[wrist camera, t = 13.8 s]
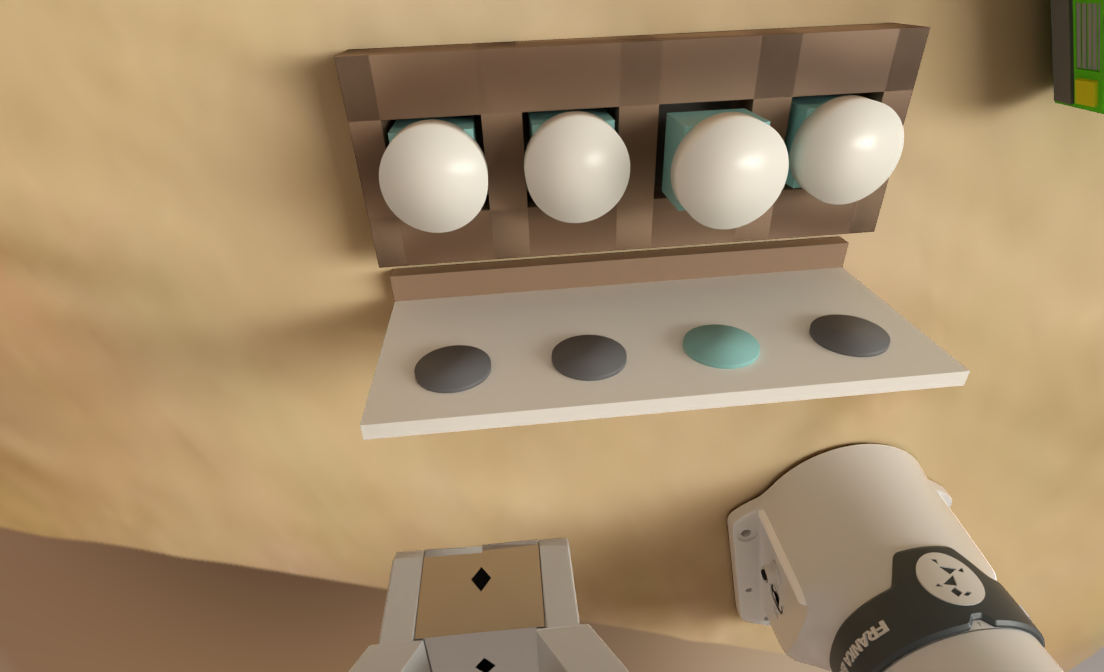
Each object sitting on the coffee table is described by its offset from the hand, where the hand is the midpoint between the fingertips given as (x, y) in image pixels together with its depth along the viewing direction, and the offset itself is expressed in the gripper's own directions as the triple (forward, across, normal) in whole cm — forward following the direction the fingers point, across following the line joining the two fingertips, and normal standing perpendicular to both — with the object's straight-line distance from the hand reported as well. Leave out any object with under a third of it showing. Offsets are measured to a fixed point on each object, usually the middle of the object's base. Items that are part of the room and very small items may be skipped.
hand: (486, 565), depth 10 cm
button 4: (+24, +2, -1) cm, 24 cm away
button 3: (+24, -4, -1) cm, 24 cm away
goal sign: (+25, -7, +7) cm, 27 cm away
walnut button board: (+25, -7, -1) cm, 26 cm away
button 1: (+24, -17, -1) cm, 29 cm away
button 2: (+22, -11, -1) cm, 24 cm away
